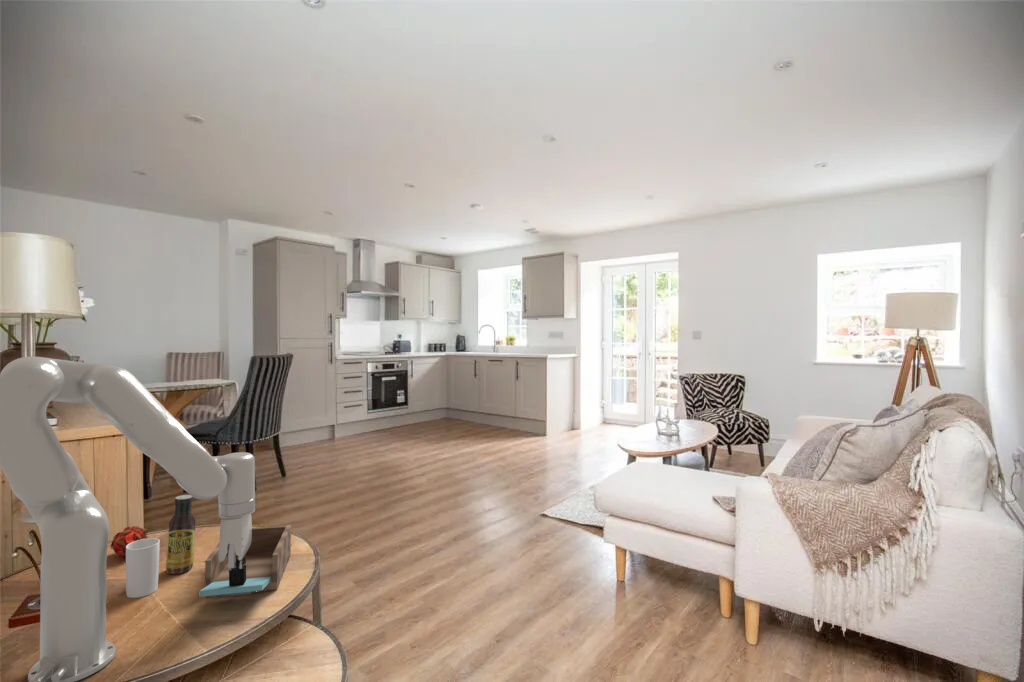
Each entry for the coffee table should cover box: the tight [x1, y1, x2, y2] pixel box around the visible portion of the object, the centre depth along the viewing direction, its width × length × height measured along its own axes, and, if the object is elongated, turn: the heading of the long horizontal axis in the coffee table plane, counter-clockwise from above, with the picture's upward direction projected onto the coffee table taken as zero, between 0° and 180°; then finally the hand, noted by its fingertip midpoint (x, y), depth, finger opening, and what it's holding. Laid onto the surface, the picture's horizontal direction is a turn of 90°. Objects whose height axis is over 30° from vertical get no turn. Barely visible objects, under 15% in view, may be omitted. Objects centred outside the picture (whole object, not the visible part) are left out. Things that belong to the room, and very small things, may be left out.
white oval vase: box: [125, 537, 160, 599], centre depth 125 cm, size 10×7×12 cm, turn 24°
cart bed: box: [204, 524, 292, 598], centre depth 133 cm, size 20×16×9 cm
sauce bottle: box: [165, 494, 197, 575], centre depth 135 cm, size 7×6×20 cm
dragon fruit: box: [110, 525, 150, 561], centre depth 143 cm, size 8×8×12 cm
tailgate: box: [198, 577, 271, 598], centre depth 119 cm, size 2×13×10 cm
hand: (237, 583), depth 117 cm, fingers closed
